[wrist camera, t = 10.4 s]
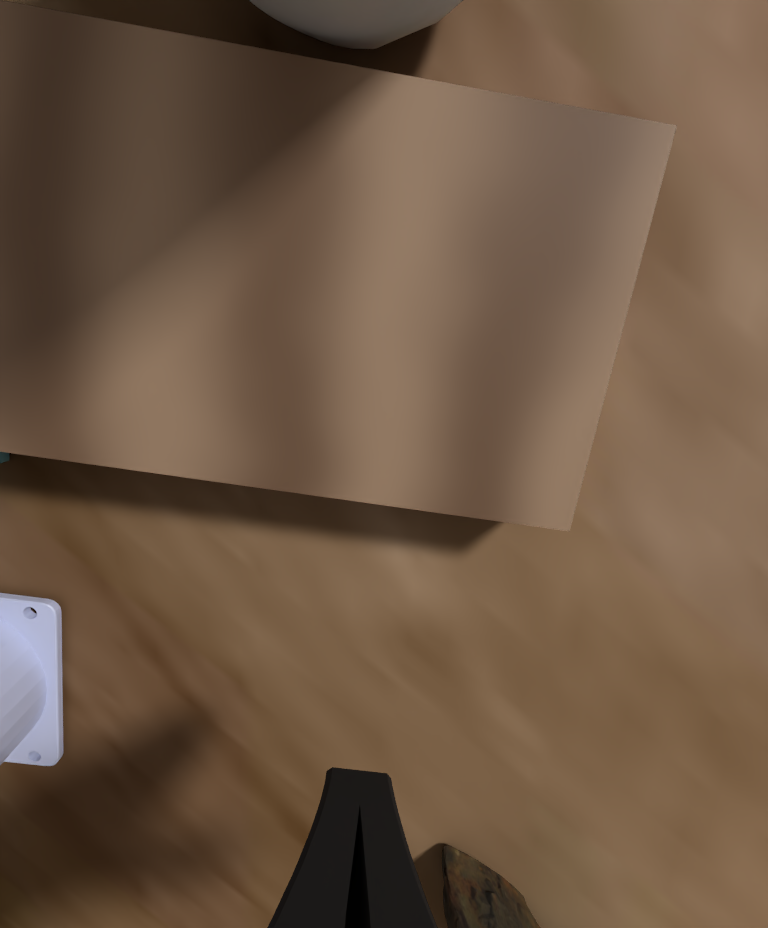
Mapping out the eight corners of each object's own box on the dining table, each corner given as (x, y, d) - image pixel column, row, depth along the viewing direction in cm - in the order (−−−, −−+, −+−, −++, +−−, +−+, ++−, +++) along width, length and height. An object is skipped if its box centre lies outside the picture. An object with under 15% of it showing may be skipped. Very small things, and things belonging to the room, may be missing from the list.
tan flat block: (7, 421, 18) (-80, 440, 14) (-7, 58, 15) (-119, -23, 12) (534, 496, 19) (569, 531, 15) (613, 170, 16) (676, 125, 13)
